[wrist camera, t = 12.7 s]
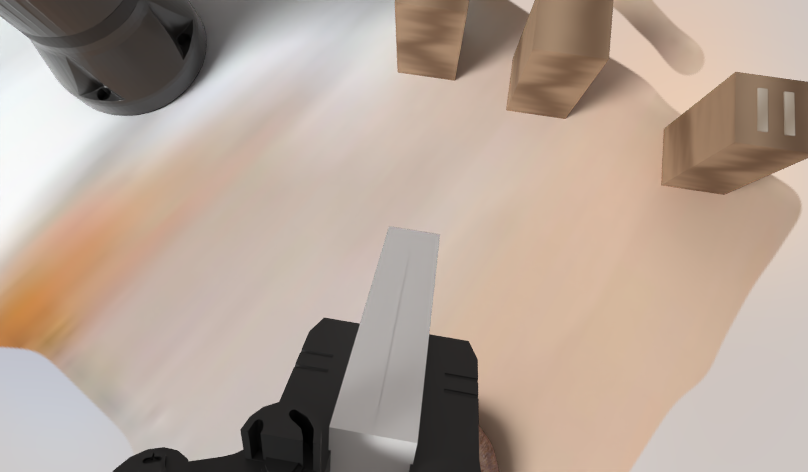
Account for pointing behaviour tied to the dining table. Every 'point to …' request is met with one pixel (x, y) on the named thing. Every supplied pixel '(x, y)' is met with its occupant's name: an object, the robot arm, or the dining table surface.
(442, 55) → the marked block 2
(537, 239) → the dining table surface
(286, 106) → the dining table surface
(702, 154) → the marked block 1
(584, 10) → the unmarked block
